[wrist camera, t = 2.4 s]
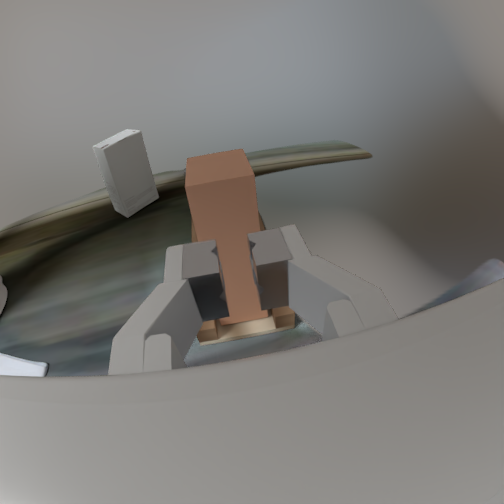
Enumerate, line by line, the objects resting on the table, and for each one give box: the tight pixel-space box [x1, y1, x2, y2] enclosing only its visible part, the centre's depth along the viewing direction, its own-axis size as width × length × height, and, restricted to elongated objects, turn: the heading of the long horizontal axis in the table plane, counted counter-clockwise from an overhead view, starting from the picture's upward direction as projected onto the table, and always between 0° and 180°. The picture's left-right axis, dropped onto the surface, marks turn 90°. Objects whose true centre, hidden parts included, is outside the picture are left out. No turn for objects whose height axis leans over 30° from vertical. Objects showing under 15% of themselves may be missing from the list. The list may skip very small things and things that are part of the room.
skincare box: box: [93, 129, 159, 218], centre depth 51 cm, size 8×6×15 cm
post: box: [185, 149, 268, 326], centre depth 28 cm, size 5×6×16 cm
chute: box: [184, 158, 295, 346], centre depth 38 cm, size 10×26×9 cm, turn 9°
